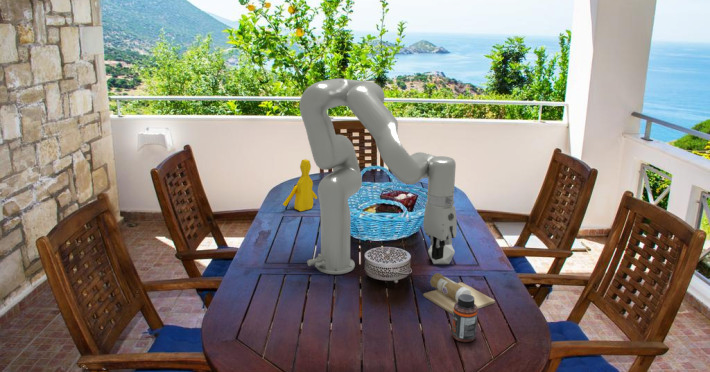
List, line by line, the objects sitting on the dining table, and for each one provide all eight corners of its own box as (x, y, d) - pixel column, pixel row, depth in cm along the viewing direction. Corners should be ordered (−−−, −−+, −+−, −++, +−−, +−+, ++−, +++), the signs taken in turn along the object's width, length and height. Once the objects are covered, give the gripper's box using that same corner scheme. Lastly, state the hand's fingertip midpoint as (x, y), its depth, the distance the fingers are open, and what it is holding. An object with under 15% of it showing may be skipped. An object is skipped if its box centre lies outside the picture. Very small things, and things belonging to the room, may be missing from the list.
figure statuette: (314, 203, 252) (314, 154, 246) (325, 207, 246) (325, 157, 240) (280, 211, 241) (279, 160, 234) (290, 216, 235) (289, 163, 229)
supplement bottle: (449, 331, 150) (451, 291, 147) (471, 330, 151) (474, 291, 148) (454, 343, 145) (457, 303, 141) (478, 342, 145) (481, 302, 142)
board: (455, 316, 158) (455, 313, 158) (423, 296, 169) (423, 293, 169) (494, 302, 166) (495, 300, 165) (461, 284, 177) (461, 281, 177)
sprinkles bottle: (428, 278, 171) (458, 295, 160) (439, 269, 173) (469, 286, 162) (432, 289, 173) (461, 307, 162) (443, 281, 175) (473, 298, 164)
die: (447, 271, 187) (462, 246, 188) (424, 257, 187) (439, 232, 188) (442, 270, 195) (457, 246, 196) (421, 256, 195) (435, 232, 196)
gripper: (468, 204, 162) (464, 264, 167) (433, 191, 174) (430, 247, 180) (448, 208, 158) (444, 270, 164) (414, 194, 170) (411, 252, 176)
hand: (437, 258), depth 172 cm, fingers closed
